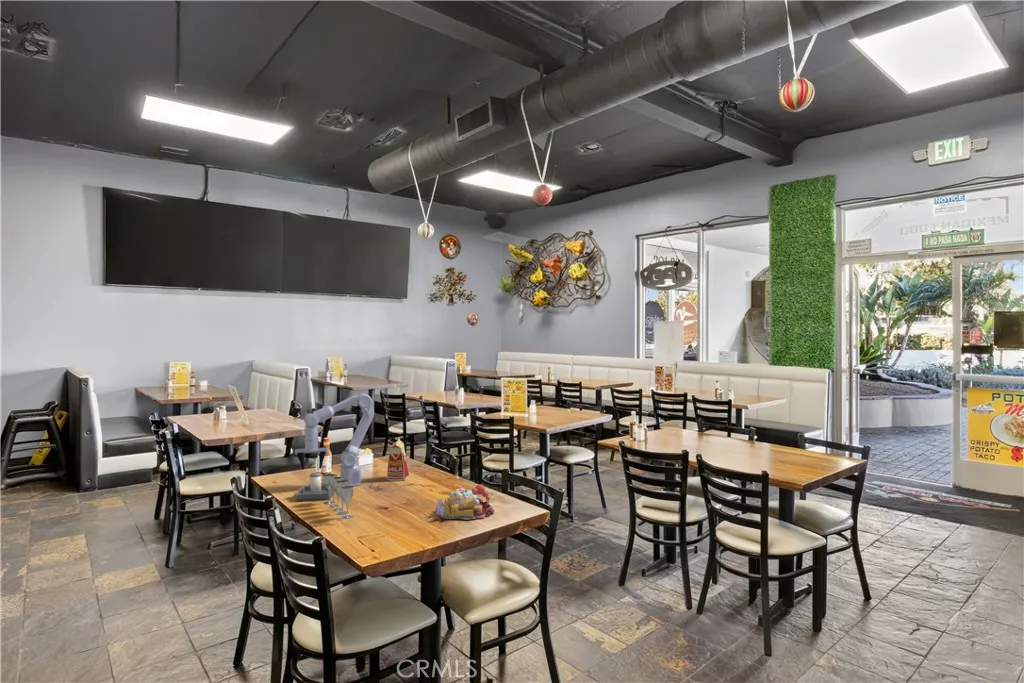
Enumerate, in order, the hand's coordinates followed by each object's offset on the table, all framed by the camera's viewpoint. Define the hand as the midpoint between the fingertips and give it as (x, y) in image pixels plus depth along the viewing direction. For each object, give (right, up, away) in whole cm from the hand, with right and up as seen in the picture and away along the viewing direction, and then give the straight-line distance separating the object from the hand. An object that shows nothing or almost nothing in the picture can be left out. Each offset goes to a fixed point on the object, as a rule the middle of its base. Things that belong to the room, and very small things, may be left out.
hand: (311, 468), depth 254 cm
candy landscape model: (+74, -10, -33) cm, 82 cm away
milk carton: (+37, -9, +17) cm, 41 cm away
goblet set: (+22, -10, -31) cm, 39 cm away
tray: (+6, -10, -12) cm, 17 cm away
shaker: (+6, -9, -12) cm, 16 cm away
